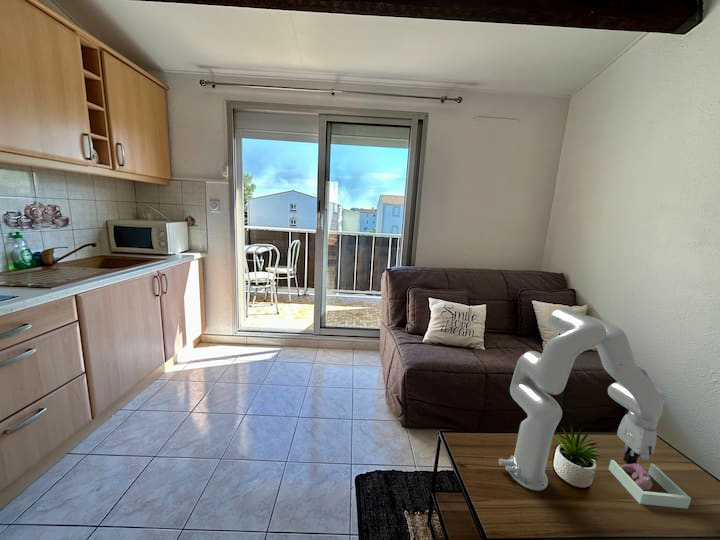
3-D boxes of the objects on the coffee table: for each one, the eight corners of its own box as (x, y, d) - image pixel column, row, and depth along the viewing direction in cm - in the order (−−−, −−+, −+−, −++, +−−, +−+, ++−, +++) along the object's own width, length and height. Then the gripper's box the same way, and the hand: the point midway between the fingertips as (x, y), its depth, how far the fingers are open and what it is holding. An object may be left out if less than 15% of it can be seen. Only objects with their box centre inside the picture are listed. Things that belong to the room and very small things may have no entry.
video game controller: (641, 498, 98) (658, 487, 96) (627, 487, 100) (644, 476, 97) (631, 475, 107) (646, 465, 104) (618, 466, 108) (633, 455, 106)
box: (639, 503, 95) (642, 493, 94) (608, 468, 107) (611, 459, 106) (687, 508, 94) (691, 498, 93) (650, 473, 107) (653, 463, 106)
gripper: (614, 404, 111) (603, 445, 115) (650, 433, 97) (636, 479, 100) (634, 406, 111) (623, 447, 115) (674, 435, 96) (659, 481, 100)
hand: (629, 462), depth 107 cm, fingers closed
